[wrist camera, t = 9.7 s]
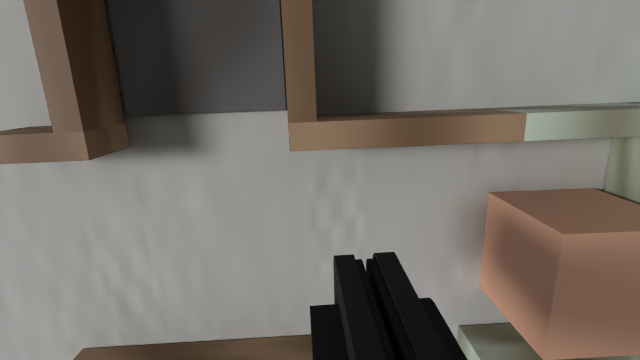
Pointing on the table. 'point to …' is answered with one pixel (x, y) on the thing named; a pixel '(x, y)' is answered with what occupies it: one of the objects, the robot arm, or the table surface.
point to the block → (565, 270)
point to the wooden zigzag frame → (259, 95)
